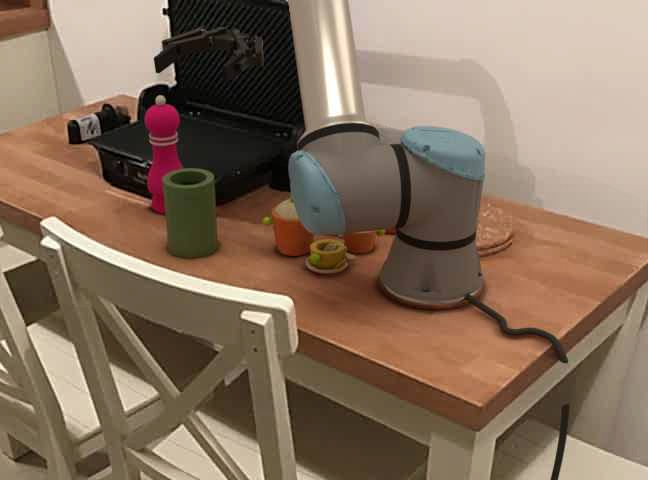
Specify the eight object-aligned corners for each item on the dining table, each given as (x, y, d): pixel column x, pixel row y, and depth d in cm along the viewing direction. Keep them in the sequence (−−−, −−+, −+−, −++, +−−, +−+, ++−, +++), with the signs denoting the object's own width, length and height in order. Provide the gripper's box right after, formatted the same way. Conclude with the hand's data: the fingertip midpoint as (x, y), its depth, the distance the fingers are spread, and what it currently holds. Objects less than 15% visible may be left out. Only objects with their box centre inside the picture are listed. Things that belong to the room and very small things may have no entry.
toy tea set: (328, 284, 140) (330, 225, 134) (253, 255, 149) (252, 199, 143) (424, 227, 155) (429, 173, 149) (351, 204, 164) (353, 152, 158)
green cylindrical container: (226, 250, 150) (222, 180, 143) (181, 262, 147) (175, 191, 140) (204, 232, 156) (200, 164, 149) (160, 243, 153) (154, 174, 146)
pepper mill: (141, 210, 164) (130, 99, 153) (163, 196, 169) (153, 87, 158) (176, 217, 161) (167, 104, 150) (196, 202, 167) (189, 91, 155)
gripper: (307, 54, 169) (256, 99, 155) (190, 40, 178) (132, 82, 164) (306, 12, 164) (253, 55, 150) (185, 0, 173) (125, 40, 159)
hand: (189, 70), depth 157 cm, fingers open, 13 cm apart
